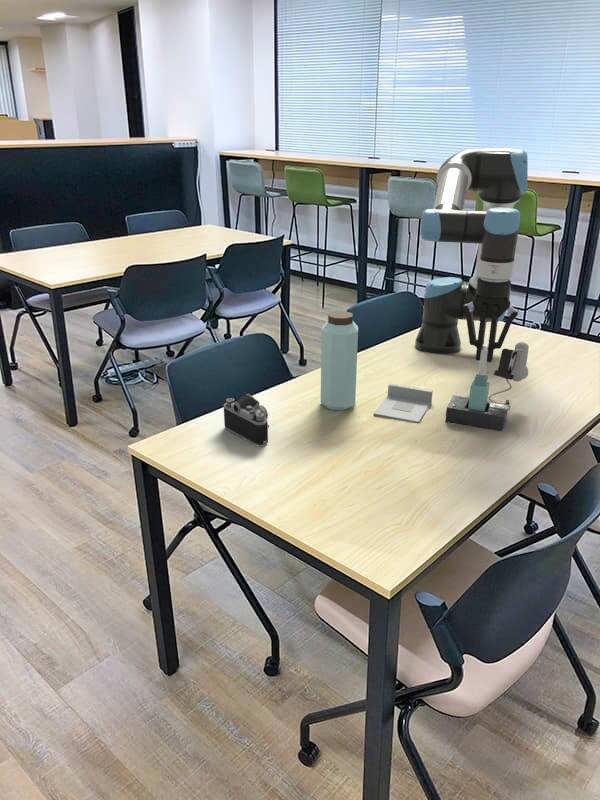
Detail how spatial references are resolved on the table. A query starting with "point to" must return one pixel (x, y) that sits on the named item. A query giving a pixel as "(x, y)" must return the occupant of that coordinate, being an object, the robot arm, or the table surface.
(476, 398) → the plug
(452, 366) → the table surface
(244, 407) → the camera
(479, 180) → the robot arm
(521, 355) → the clip-on lamp
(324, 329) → the water bottle
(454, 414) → the port
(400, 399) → the grey lipped plate
